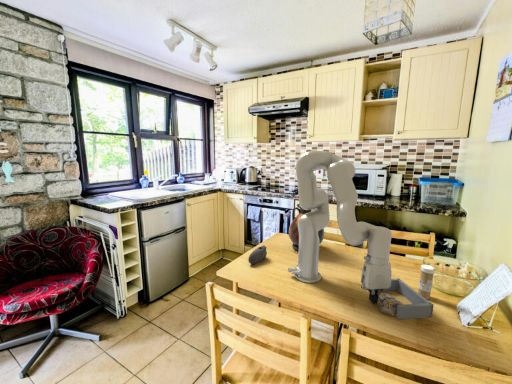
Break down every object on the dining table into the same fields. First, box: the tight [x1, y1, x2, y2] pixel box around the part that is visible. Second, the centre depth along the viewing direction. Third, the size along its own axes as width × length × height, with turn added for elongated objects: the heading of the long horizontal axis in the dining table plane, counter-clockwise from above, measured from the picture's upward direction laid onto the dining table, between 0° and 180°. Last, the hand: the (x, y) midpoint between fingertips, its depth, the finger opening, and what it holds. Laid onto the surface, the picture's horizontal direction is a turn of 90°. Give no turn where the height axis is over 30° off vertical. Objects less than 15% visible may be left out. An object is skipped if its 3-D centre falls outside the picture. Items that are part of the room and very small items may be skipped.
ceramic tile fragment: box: [378, 292, 404, 317], centre depth 94 cm, size 12×3×10 cm
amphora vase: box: [288, 203, 325, 253], centre depth 147 cm, size 22×22×28 cm
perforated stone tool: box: [248, 245, 268, 265], centre depth 131 cm, size 15×5×7 cm, turn 141°
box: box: [381, 278, 435, 320], centre depth 96 cm, size 13×18×5 cm
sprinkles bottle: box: [417, 264, 436, 300], centre depth 100 cm, size 5×5×14 cm
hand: (373, 301), depth 95 cm, fingers closed
